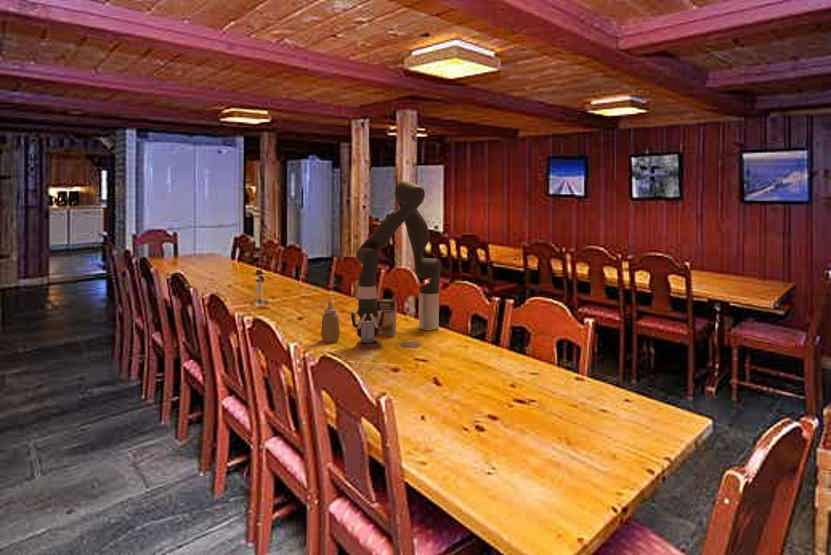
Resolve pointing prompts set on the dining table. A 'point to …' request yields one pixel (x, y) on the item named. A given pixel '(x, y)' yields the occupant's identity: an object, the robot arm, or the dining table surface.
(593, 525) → the dining table surface
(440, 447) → the dining table surface
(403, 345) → the felt coaster
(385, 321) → the coffee box
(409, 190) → the robot arm
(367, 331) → the jug
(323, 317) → the squeeze bottle
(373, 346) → the stand
